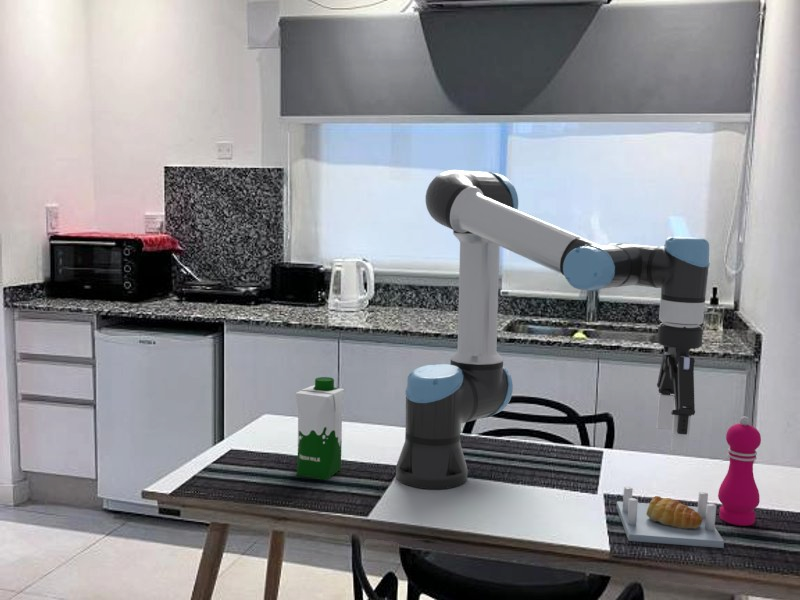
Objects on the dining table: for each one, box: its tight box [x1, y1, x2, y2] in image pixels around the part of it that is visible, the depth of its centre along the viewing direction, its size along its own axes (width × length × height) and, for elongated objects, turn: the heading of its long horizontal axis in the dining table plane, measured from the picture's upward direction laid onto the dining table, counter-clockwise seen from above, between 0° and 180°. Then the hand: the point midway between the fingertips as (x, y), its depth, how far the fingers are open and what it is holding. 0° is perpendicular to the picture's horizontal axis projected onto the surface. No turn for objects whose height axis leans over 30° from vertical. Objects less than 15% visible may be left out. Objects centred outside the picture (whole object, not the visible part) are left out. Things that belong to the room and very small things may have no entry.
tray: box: [615, 486, 725, 549], centre depth 150 cm, size 16×16×6 cm
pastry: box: [646, 495, 703, 529], centre depth 149 cm, size 9×7×4 cm
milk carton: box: [295, 376, 345, 481], centre depth 173 cm, size 9×9×20 cm
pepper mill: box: [717, 415, 762, 527], centre depth 153 cm, size 7×7×20 cm
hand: (671, 439), depth 148 cm, fingers open, 13 cm apart
